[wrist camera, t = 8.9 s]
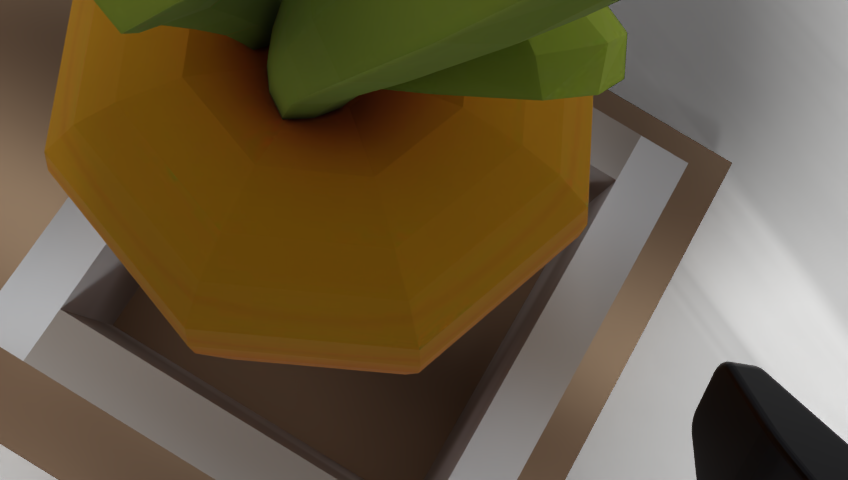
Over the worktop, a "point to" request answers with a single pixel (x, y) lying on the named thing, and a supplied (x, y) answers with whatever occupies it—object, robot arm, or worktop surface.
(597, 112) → the holder
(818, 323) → the worktop surface
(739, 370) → the robot arm
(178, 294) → the carrot
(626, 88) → the worktop surface
